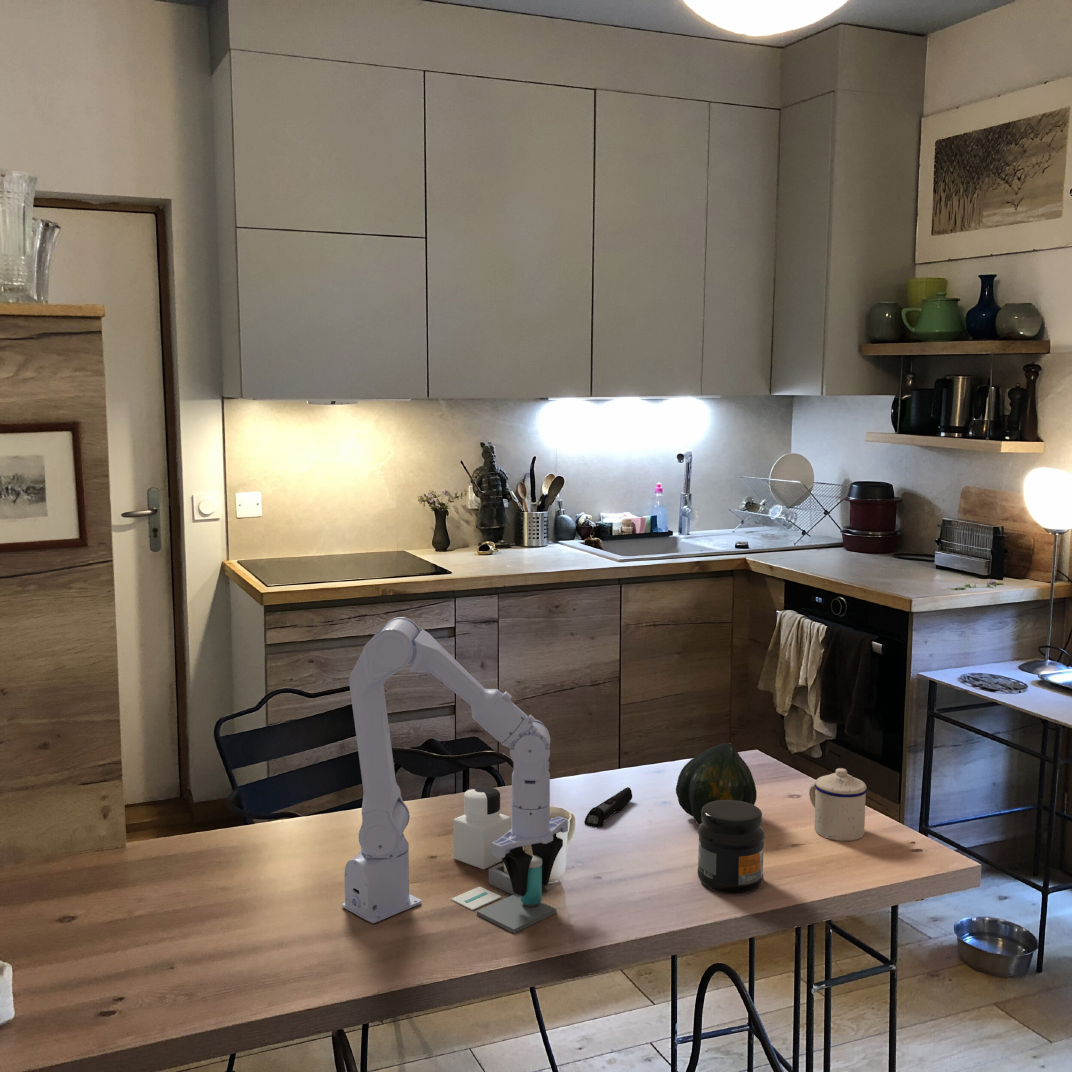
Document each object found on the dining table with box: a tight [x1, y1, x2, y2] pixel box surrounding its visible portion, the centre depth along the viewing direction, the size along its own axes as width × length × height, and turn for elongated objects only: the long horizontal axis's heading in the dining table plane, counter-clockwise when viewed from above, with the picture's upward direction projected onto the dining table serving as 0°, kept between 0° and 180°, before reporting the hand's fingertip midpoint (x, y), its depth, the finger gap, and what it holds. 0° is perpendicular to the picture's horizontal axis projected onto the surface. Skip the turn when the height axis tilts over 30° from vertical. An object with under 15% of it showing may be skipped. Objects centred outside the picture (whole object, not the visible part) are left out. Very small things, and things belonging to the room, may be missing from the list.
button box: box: [488, 862, 516, 896], centre depth 173 cm, size 6×6×2 cm
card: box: [450, 886, 502, 911], centre depth 168 cm, size 6×5×1 cm
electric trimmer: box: [583, 786, 633, 829], centre depth 203 cm, size 4×16×3 cm, turn 149°
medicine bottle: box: [452, 785, 512, 870], centre depth 182 cm, size 7×7×12 cm
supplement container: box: [697, 800, 766, 895], centre depth 173 cm, size 10×10×12 cm
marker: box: [521, 854, 543, 908], centre depth 164 cm, size 3×3×7 cm
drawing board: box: [476, 894, 557, 934], centre depth 163 cm, size 9×8×1 cm
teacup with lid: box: [808, 767, 868, 842], centre depth 194 cm, size 12×9×12 cm
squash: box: [675, 742, 758, 826], centre depth 199 cm, size 14×15×15 cm
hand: (530, 888), depth 164 cm, fingers open, 4 cm apart
